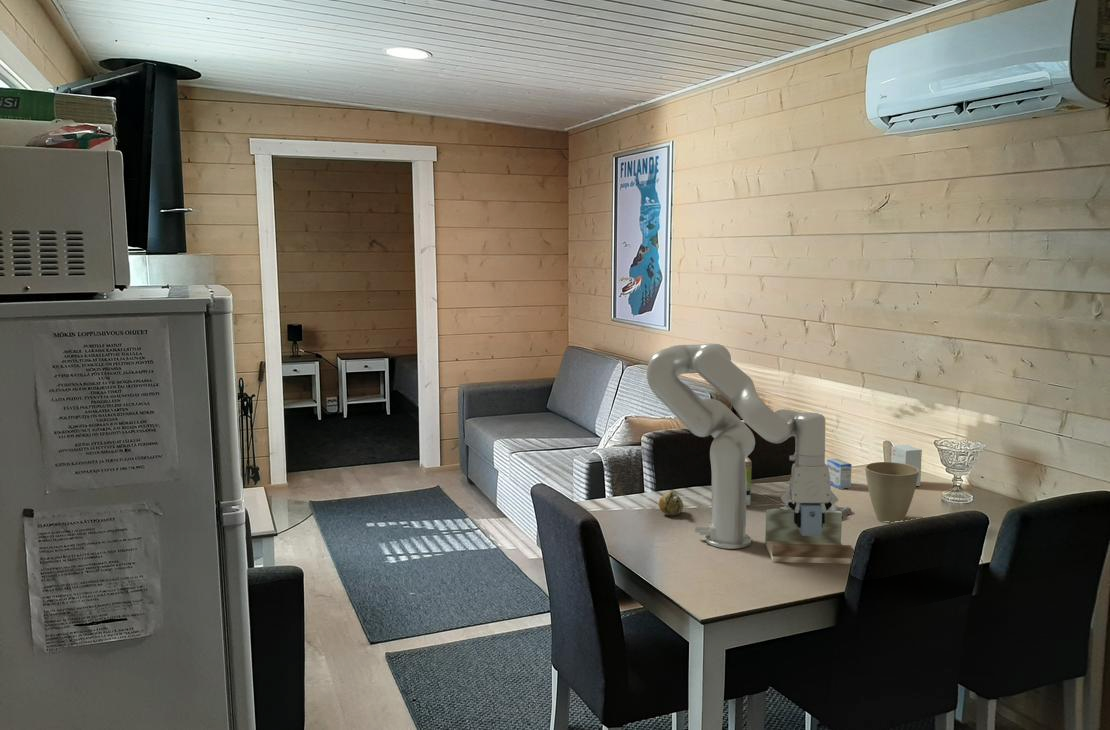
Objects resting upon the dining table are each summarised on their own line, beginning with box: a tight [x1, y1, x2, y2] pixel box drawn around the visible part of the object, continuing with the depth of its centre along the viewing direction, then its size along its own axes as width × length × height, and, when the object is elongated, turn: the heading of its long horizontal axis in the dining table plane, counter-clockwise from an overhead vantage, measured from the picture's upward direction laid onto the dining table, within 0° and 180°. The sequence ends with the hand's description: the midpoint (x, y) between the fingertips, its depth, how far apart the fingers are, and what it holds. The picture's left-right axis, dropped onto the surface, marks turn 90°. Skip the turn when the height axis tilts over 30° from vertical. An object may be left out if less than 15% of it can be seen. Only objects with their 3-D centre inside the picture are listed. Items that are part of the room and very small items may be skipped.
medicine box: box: [826, 458, 853, 490], centre depth 283 cm, size 8×4×9 cm, turn 17°
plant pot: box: [864, 461, 919, 524], centre depth 247 cm, size 15×15×16 cm
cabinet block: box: [797, 503, 822, 536], centre depth 220 cm, size 5×8×8 cm, turn 174°
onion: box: [658, 490, 684, 516], centre depth 255 cm, size 8×8×8 cm
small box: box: [890, 444, 923, 487], centre depth 283 cm, size 8×6×13 cm
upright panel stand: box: [764, 509, 853, 565], centre depth 221 cm, size 20×13×10 cm, turn 84°
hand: (809, 525), depth 220 cm, fingers closed on cabinet block, 5 cm apart
